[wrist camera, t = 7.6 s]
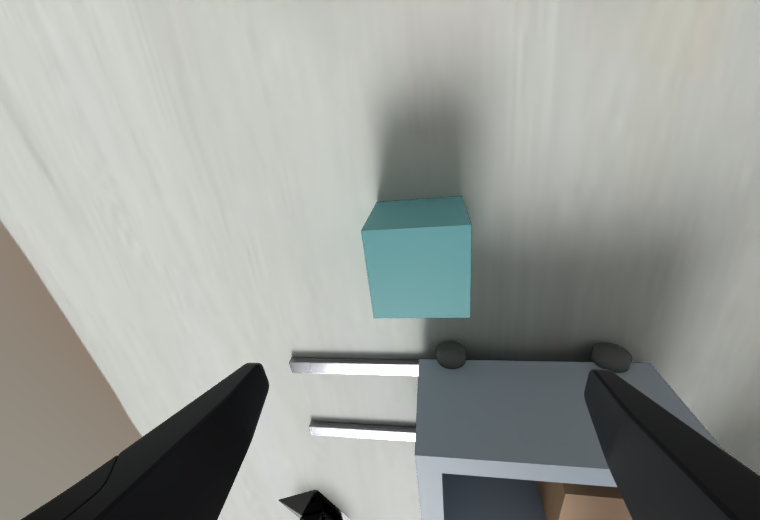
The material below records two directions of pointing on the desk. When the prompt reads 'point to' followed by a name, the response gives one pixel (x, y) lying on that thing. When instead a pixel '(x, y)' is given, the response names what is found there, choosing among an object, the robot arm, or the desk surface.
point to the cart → (515, 430)
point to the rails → (361, 368)
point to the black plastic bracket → (313, 507)
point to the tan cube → (581, 502)
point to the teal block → (419, 258)
